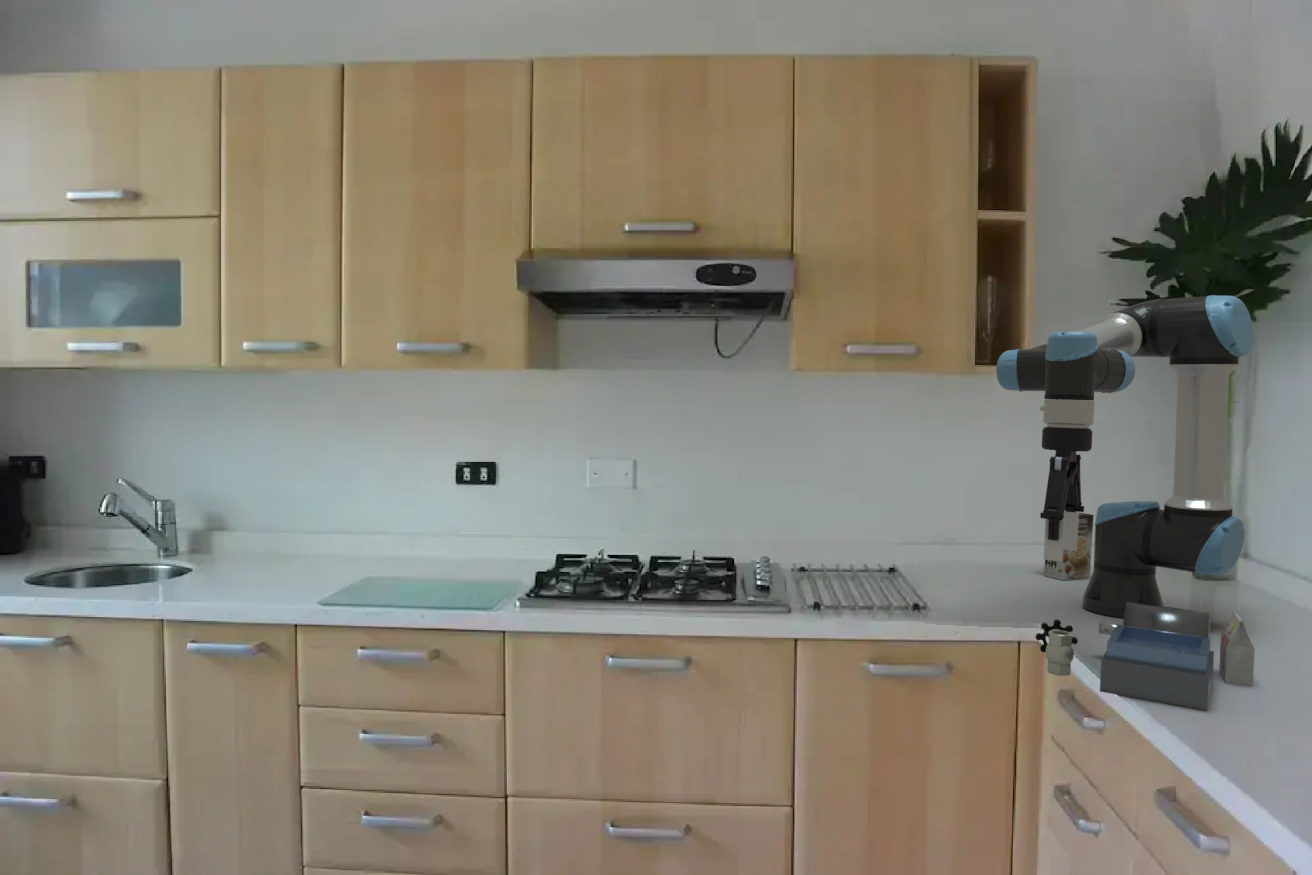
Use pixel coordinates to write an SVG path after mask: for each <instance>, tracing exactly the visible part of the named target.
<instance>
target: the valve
mask: <svg viewBox="0 0 1312 875" xmlns="http://www.w3.org/2000/svg"><path fill="white" fill-rule="evenodd" d="M1040 628H1041V629H1042V630H1043V632H1042V633H1040V632H1038V633H1036V634H1035V639H1036V640H1037V641H1039V642H1040V641H1042V642H1043V644H1041V645H1040V647H1039V651H1040V652H1042V653H1045V657H1046V659H1047V669H1046V670H1047V673H1048V674H1051V675H1055V676H1063V677H1064V676H1071V670H1072V667H1071V666H1072V665H1071V663H1072V662H1073V660H1074V656H1075V653H1074V652H1075V651H1074V649H1073V646H1072V644H1073V645H1077V644H1078V642H1079V640H1078V638H1077V637H1076V636H1073V634H1072V632H1073V631H1074V627H1073V626H1072V625H1070V624H1068V625H1066V626H1065V627H1063V626H1062V622H1061V620H1060V619H1058V618H1056V619H1053V625H1049V624H1048V623H1047V622H1042V623H1041V624H1040ZM1047 637H1048V642H1047Z"/></svg>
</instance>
